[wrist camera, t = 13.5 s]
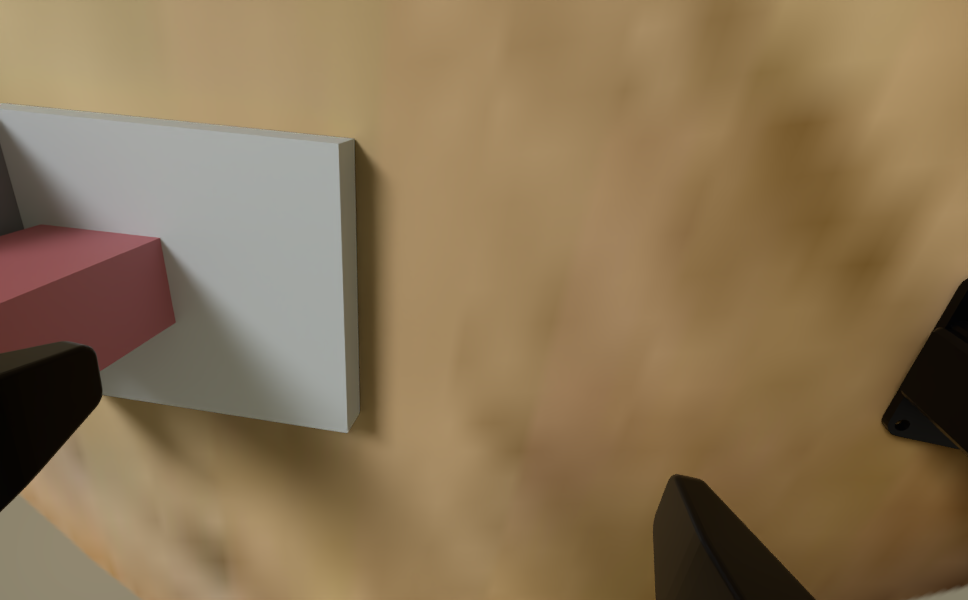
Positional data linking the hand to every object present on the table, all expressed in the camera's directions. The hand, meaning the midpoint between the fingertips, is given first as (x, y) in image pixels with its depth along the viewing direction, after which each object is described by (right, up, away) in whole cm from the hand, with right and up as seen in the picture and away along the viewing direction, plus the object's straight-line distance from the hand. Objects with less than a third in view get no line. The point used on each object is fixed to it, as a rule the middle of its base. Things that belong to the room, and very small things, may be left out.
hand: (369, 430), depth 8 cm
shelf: (-10, +3, +14) cm, 18 cm away
